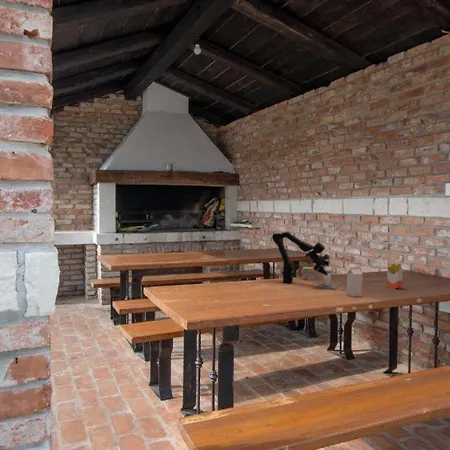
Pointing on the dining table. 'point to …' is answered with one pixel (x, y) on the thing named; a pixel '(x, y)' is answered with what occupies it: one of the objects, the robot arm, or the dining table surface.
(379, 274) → the dining table surface
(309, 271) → the stack of blocks
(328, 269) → the banded post
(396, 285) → the french fries container
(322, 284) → the slate tile
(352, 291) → the milk carton
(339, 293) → the dining table surface
